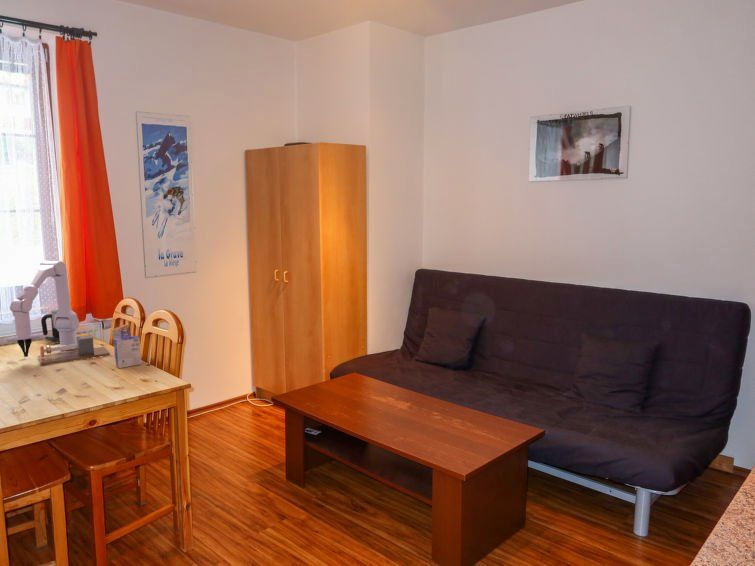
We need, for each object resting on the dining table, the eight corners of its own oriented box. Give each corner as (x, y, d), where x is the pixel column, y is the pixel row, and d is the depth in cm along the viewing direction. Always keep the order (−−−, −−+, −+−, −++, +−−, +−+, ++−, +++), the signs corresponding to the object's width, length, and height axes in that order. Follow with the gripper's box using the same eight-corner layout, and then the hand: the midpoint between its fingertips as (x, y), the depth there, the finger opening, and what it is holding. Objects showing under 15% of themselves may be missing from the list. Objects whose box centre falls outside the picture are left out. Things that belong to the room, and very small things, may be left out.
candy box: (124, 357, 274) (121, 324, 272) (133, 357, 274) (130, 324, 271) (114, 362, 265) (111, 329, 263) (123, 362, 265) (121, 329, 262)
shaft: (41, 357, 266) (40, 346, 265) (40, 354, 270) (39, 344, 269) (88, 350, 276) (87, 340, 275) (87, 348, 280) (86, 338, 279)
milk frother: (70, 335, 317) (68, 308, 315) (78, 340, 306) (76, 312, 303) (40, 339, 308) (37, 311, 306) (47, 345, 296) (44, 316, 294)
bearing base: (40, 365, 262) (38, 346, 260) (38, 358, 273) (36, 340, 272) (109, 355, 277) (108, 337, 276) (104, 349, 289) (102, 331, 287)
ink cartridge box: (138, 361, 266) (135, 330, 264) (142, 364, 262) (139, 332, 260) (114, 366, 260) (112, 333, 258) (118, 368, 256) (116, 335, 254)
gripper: (3, 330, 255) (7, 361, 257) (42, 325, 263) (45, 355, 265) (3, 327, 261) (6, 357, 263) (41, 322, 269) (44, 352, 271)
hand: (26, 356), depth 264 cm, fingers closed
